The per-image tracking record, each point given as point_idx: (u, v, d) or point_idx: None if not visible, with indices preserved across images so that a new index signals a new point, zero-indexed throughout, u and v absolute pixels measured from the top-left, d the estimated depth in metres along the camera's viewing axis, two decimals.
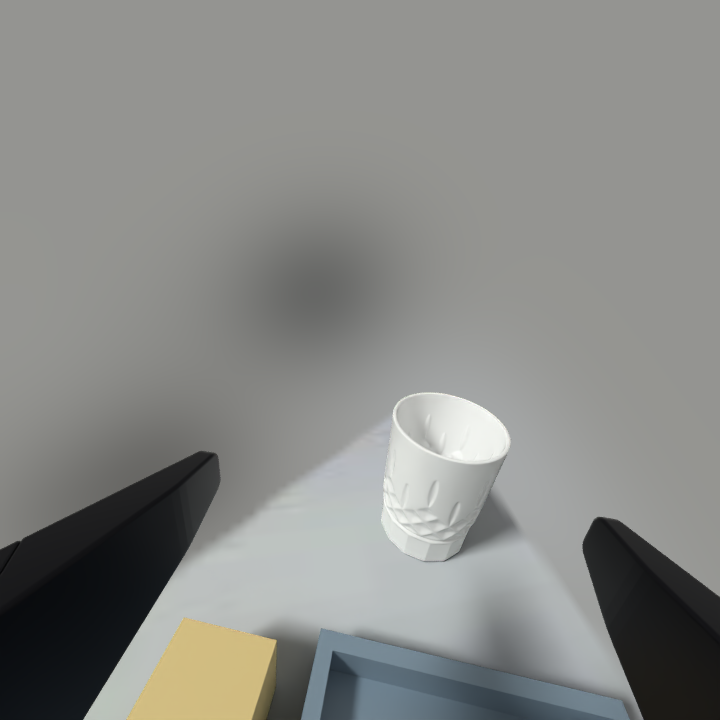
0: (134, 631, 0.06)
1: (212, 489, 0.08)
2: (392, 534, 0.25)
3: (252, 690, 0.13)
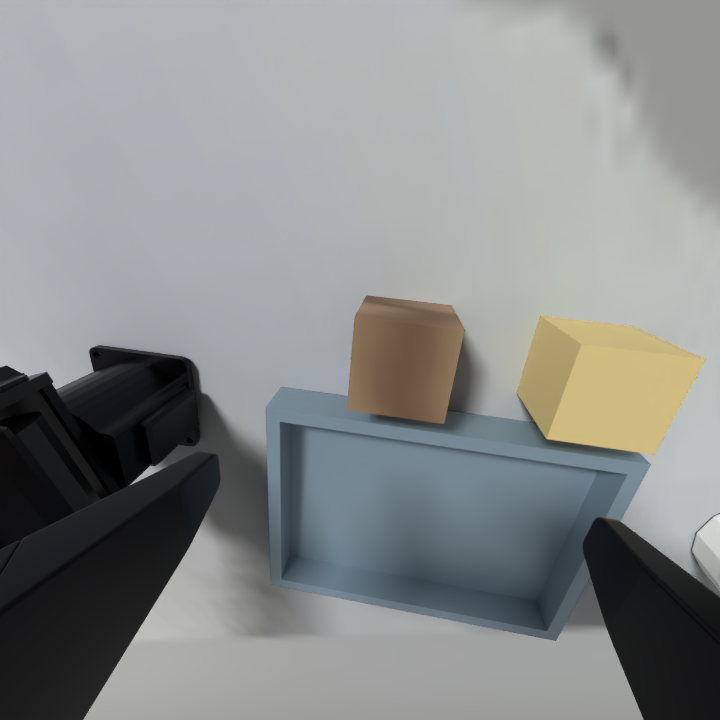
0: (135, 630, 0.06)
1: (212, 489, 0.08)
2: None
3: (613, 442, 0.14)
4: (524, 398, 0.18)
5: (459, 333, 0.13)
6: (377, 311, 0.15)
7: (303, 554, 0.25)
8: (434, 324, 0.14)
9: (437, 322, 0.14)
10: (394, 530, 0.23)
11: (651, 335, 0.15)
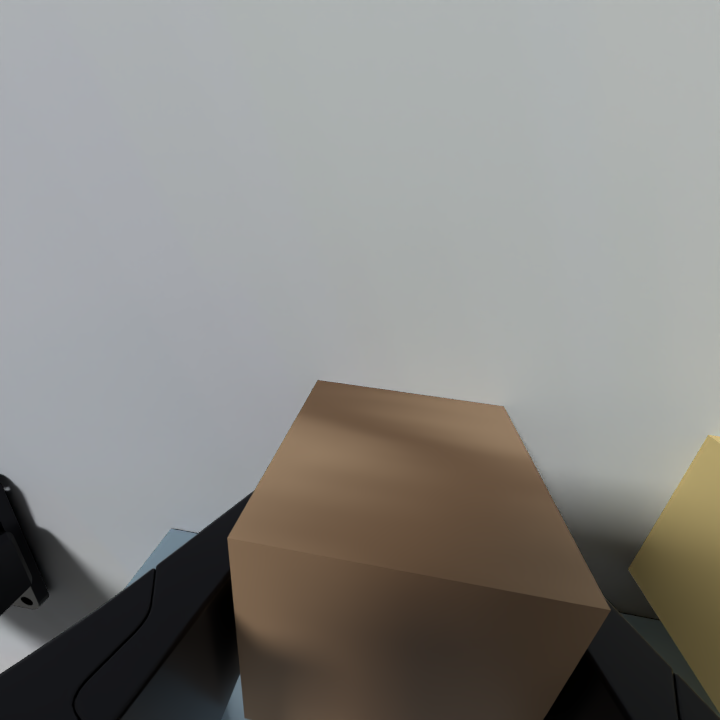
0: None
1: None
2: None
3: None
4: (661, 608, 0.08)
5: (589, 618, 0.04)
6: (319, 475, 0.05)
7: None
8: (495, 565, 0.04)
9: (500, 541, 0.04)
10: None
11: None
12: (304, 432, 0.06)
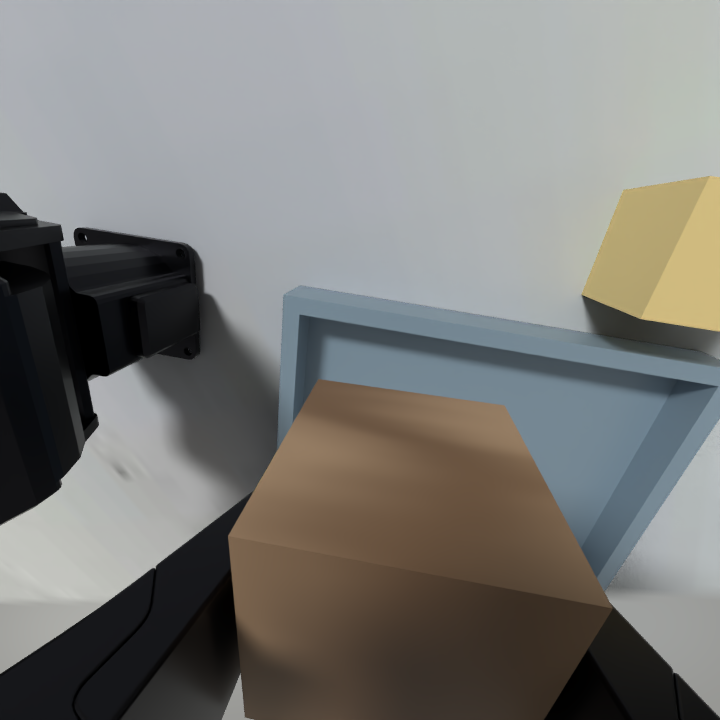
0: None
1: None
2: None
3: None
4: (596, 293, 0.15)
5: (591, 616, 0.04)
6: (320, 473, 0.05)
7: None
8: (496, 564, 0.04)
9: (501, 539, 0.04)
10: None
11: None
12: (305, 431, 0.06)
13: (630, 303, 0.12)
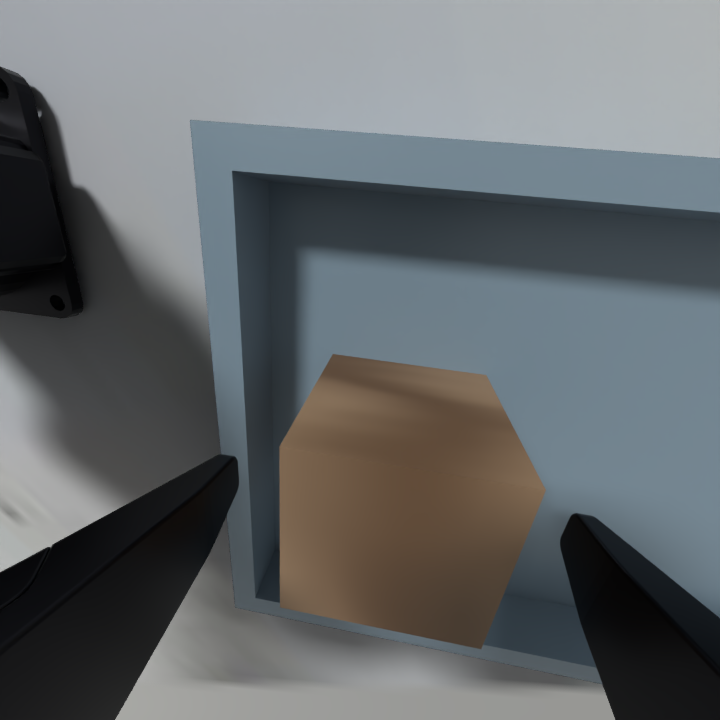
0: (160, 636, 0.06)
1: (231, 492, 0.08)
2: None
3: None
4: None
5: (531, 496, 0.05)
6: (340, 414, 0.07)
7: None
8: (468, 466, 0.06)
9: (473, 454, 0.06)
10: None
11: None
12: (326, 388, 0.08)
13: None
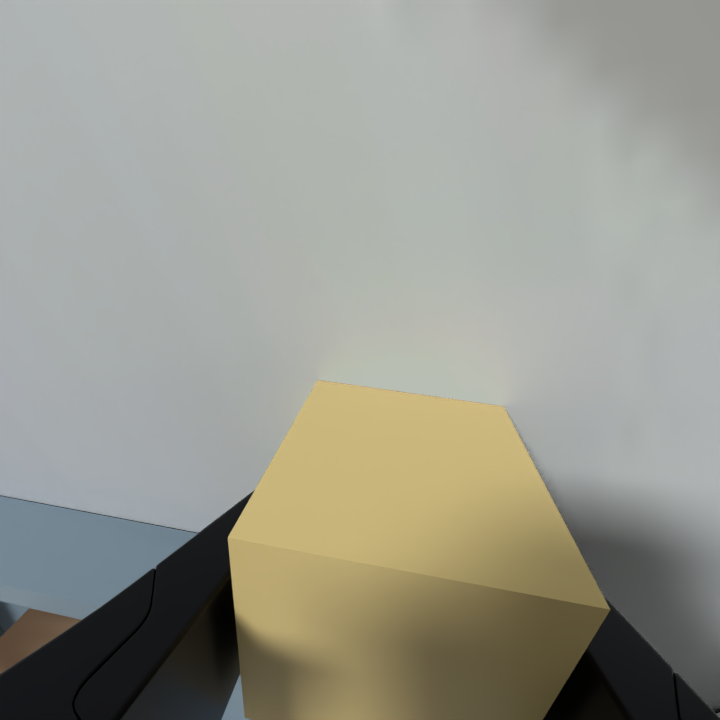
0: None
1: None
2: None
3: None
4: None
5: None
6: None
7: None
8: None
9: None
10: None
11: (520, 448, 0.06)
12: None
13: None
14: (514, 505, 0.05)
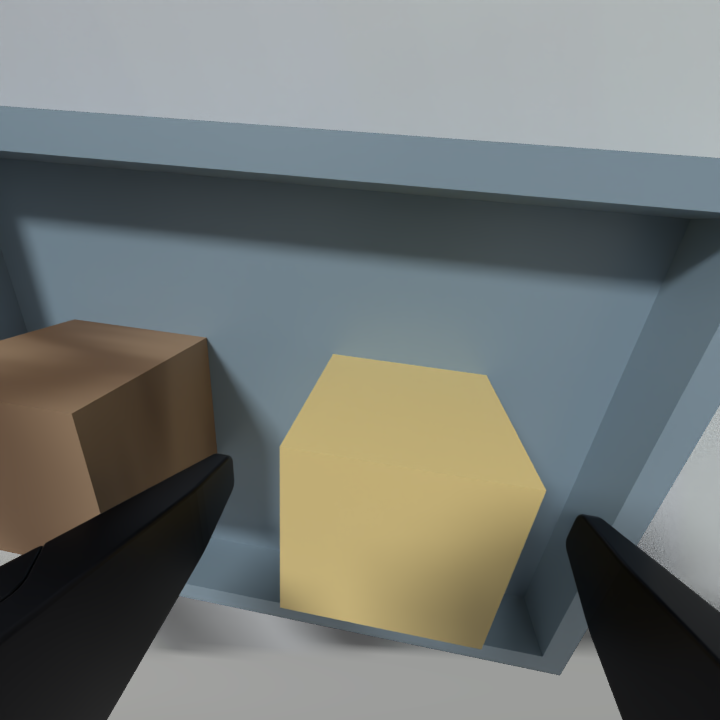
0: (154, 635, 0.06)
1: (227, 491, 0.08)
2: None
3: (399, 623, 0.07)
4: None
5: (64, 420, 0.06)
6: None
7: None
8: (30, 396, 0.07)
9: (55, 389, 0.07)
10: (247, 458, 0.12)
11: (496, 402, 0.08)
12: (8, 342, 0.09)
13: None
14: (487, 435, 0.07)
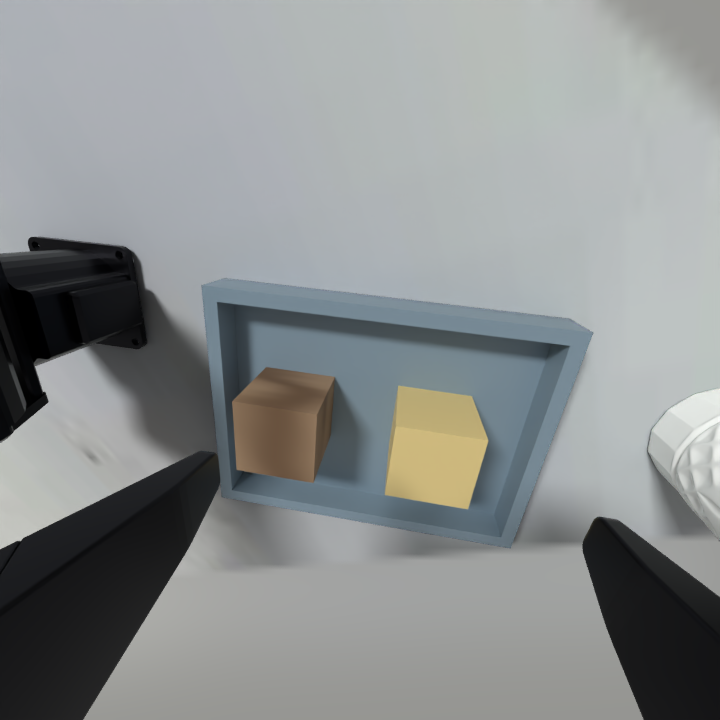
0: (135, 630, 0.06)
1: (212, 489, 0.08)
2: (699, 403, 0.18)
3: (435, 498, 0.18)
4: (388, 453, 0.21)
5: (313, 417, 0.17)
6: (258, 392, 0.18)
7: None
8: (295, 408, 0.17)
9: (300, 405, 0.17)
10: (346, 437, 0.23)
11: (475, 409, 0.19)
12: (256, 382, 0.19)
13: (386, 478, 0.19)
14: (469, 423, 0.17)
